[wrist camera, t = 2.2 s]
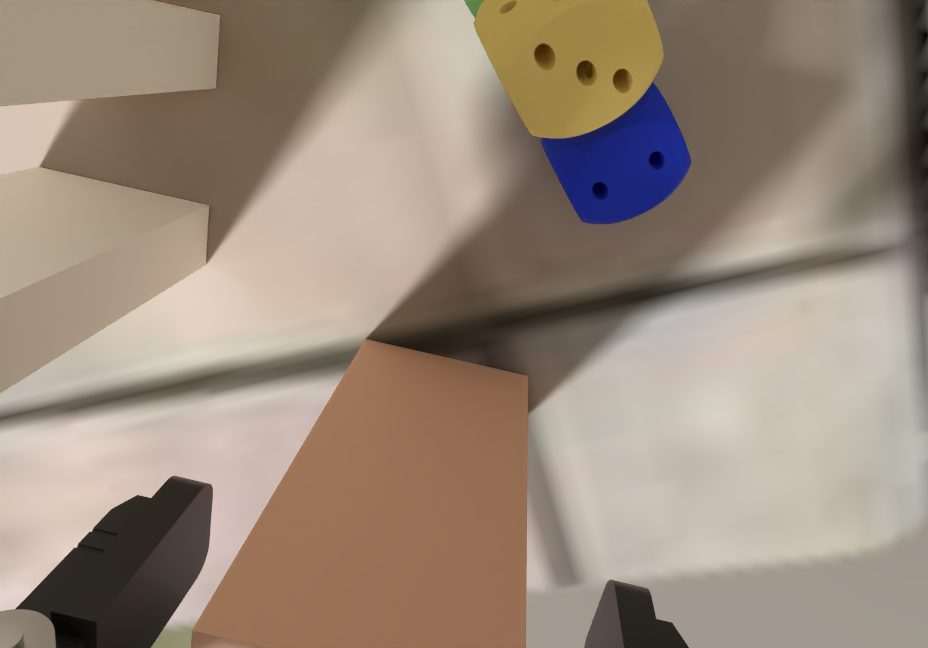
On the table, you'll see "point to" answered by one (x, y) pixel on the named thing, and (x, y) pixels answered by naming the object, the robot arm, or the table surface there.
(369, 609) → the domino end
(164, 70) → the domino
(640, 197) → the dice
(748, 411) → the table surface
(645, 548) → the table surface
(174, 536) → the robot arm
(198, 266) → the domino
